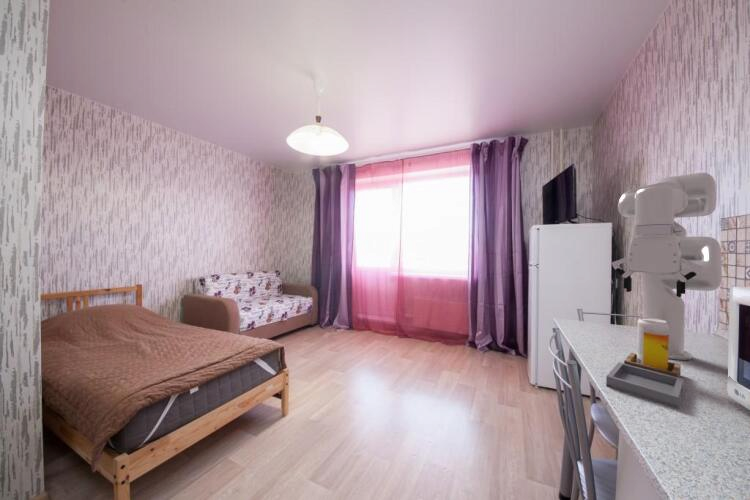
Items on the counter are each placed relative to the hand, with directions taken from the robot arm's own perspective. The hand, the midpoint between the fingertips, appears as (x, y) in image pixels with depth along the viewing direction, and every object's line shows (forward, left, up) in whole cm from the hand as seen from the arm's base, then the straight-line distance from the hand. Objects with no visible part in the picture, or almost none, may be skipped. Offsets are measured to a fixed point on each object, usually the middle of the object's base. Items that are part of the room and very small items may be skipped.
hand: (652, 293), depth 74 cm
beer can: (-1, 0, -23) cm, 23 cm away
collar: (-1, 0, -22) cm, 23 cm away
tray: (+12, 0, -22) cm, 25 cm away
